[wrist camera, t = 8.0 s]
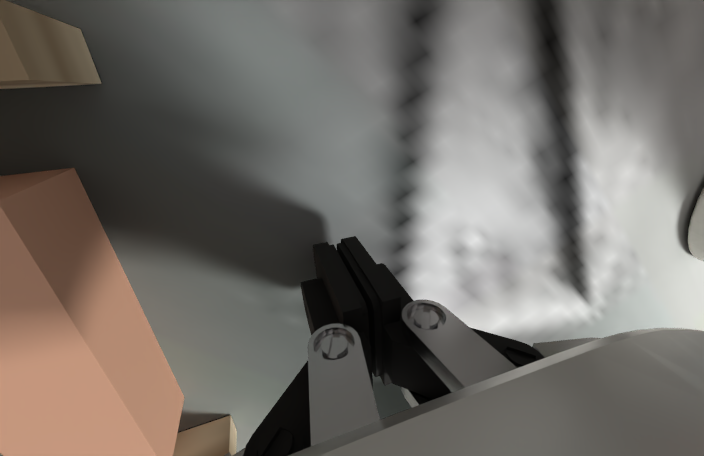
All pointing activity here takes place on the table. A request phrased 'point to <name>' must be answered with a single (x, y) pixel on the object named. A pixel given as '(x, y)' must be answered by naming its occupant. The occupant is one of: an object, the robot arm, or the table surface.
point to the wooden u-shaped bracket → (65, 70)
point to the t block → (74, 333)
